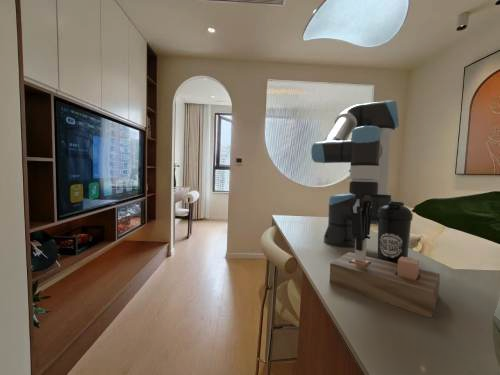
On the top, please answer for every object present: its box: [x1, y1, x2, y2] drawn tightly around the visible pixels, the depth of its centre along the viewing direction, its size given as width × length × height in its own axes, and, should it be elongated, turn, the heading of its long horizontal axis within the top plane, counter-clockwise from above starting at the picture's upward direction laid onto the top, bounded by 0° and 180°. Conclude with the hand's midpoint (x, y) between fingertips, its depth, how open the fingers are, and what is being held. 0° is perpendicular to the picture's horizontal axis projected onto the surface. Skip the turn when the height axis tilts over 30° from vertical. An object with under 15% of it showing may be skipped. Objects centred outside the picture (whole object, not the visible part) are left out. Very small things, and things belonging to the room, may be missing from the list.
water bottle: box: [377, 201, 414, 264], centre depth 80 cm, size 10×10×23 cm
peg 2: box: [397, 256, 420, 281], centre depth 62 cm, size 4×4×6 cm
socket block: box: [329, 251, 441, 319], centre depth 66 cm, size 14×24×6 cm, turn 46°
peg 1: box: [351, 258, 369, 267], centre depth 70 cm, size 4×4×6 cm
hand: (360, 260), depth 70 cm, fingers closed
